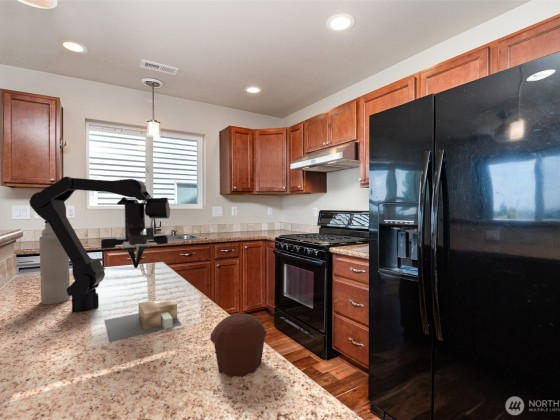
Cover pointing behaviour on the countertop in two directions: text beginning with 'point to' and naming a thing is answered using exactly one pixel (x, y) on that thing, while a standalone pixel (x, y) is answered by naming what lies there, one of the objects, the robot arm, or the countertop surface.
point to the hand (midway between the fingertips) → (135, 267)
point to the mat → (130, 327)
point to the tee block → (156, 312)
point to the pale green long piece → (166, 319)
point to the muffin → (238, 344)
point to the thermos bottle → (53, 268)
